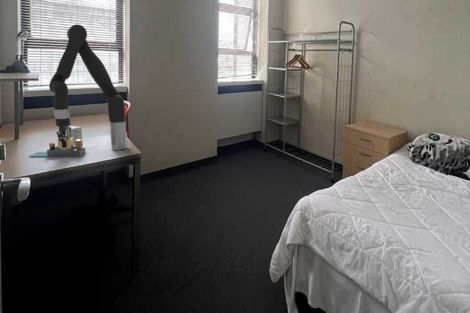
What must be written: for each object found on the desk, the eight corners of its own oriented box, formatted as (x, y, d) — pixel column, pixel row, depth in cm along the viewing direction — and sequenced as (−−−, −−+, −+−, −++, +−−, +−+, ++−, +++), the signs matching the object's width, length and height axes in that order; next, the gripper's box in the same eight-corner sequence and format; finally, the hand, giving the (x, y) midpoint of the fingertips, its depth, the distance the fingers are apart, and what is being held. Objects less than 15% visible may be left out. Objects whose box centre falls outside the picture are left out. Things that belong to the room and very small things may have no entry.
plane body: (85, 153, 198) (83, 138, 196) (80, 156, 190) (78, 141, 188) (54, 153, 197) (52, 138, 194) (47, 156, 189) (45, 141, 187)
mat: (53, 152, 197) (53, 151, 197) (46, 157, 189) (46, 156, 189) (37, 152, 197) (37, 151, 197) (29, 157, 188) (29, 156, 188)
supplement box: (65, 147, 209) (62, 127, 206) (74, 144, 216) (72, 125, 213) (74, 148, 207) (72, 128, 204) (83, 146, 214) (81, 126, 210)
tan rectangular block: (74, 146, 195) (72, 137, 193) (71, 148, 190) (69, 139, 189) (61, 146, 194) (60, 137, 193) (58, 148, 190) (57, 139, 189)
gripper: (63, 119, 181) (67, 149, 186) (74, 115, 194) (77, 143, 199) (49, 119, 180) (53, 149, 185) (60, 114, 194) (64, 143, 199)
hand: (66, 146), depth 192 cm, fingers closed on tan rectangular block, 4 cm apart
